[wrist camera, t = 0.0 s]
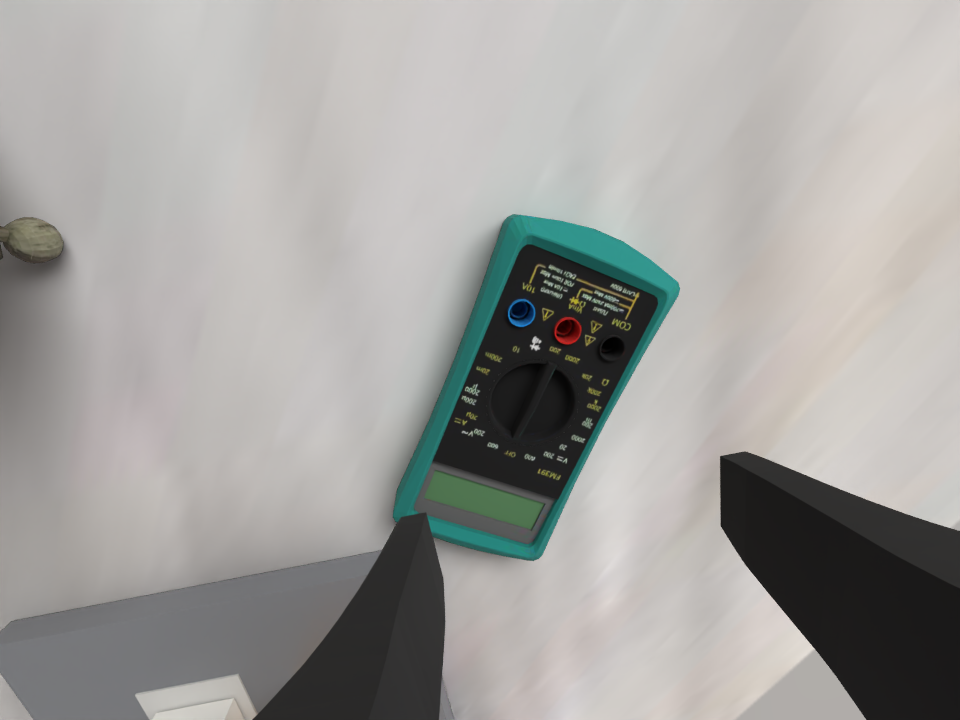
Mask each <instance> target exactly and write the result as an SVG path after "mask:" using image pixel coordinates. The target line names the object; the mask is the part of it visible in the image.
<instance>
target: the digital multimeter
mask: <svg viewBox="0 0 960 720" xmlns="http://www.w3.org/2000/svg"><path fill="white" fill-rule="evenodd" d="M517 255H518V256H517ZM515 260H516V261H515ZM512 267H513V268H512ZM510 272H511V273H510ZM508 277H509V278H508ZM505 284H506V285H505ZM503 289H504V290H503ZM679 291H680V287H679V284H678V282H677V281H676V280H675V279H673V278H672V277H671V276H670V275H668V274H667V273H666V272H665V271H664V270H662V269H661V268H660V267H659V266H657V265H656V264H655V263H654V262H652V261H651V260H650V259H649V258H647V257H646V256H644V255H643V254H641V253H640V252H638V251H637V250H635V249H634V248H632V247H631V246H629V245H628V244H626V243H624V242H623V241H621V240H618V239H616V238H614V237H611V236H609V235H607V234H604V233H602V232H600V231H598V230H595V229H592V228H588V227H584V226H580V225H576V224H572V223H567V222H563V221H558V220H551V219H544V218H538V217H531V216H523V215H516V214H513V215H511V216H509V217H507V218H506V220H505V221H504V223H503V225H502V228H501V231H500V234H499V237H498V240H497V243H496V246H495V248H494V251H493V254H492V257H491V260H490V263H489V266H488V269H487V272H486V275H485V278H484V281H483V283H482V286H481V289H480V292H479V294H478V297H477V300H476V303H475V305H474V308H473V311H472V313H471V316H470V319H469V322H468V324H467V327H466V330H465V332H464V335H463V338H462V341H461V343H460V346H459V349H458V351H457V354H456V357H455V359H454V362H453V364H452V366H451V369H450V371H449V374H448V376H447V378H446V381H445V383H444V386H443V388H442V390H441V393H440V395H439V398H438V400H437V402H436V405H435V407H434V410H433V412H432V414H431V417H430V419H429V422H428V424H427V426H426V428H425V430H424V433H423V435H422V437H421V439H420V441H419V443H418V446H417V448H416V450H415V452H414V454H413V457H412V459H411V461H410V463H409V465H408V467H407V470H406V472H405V474H404V476H403V478H402V481H401V483H400V485H399V487H398V489H397V494H396V500H395V505H394V511H393V518H394V520H395V521H396V522H398V521H399V520H400V518H401V517H404V516H409V515H414V514H419V513H425V512H426V513H427V517H428V521H429V525H430V529H431V533H432V536H433V537H436V538H438V539H441V540H444V541H447V542H450V543H453V544H457V545H460V546H464V547H467V548H471V549H474V550H478V551H483V552H487V553H492V554H497V555H501V556H506V557H512V558H517V559H523V560H530V561H534V560H537V559H539V558H540V557H541V556H542V554H543V552H544V550H545V548H546V546H547V543H548V541H549V539H550V537H551V535H552V533H553V530H554V528H555V526H556V524H557V522H558V519H559V517H560V515H561V513H562V511H563V508H564V506H565V504H566V502H567V500H568V497H569V495H570V493H571V491H572V489H573V486H574V484H575V482H576V480H577V478H578V476H579V474H580V472H581V470H582V468H583V466H584V464H585V462H586V460H587V458H588V456H589V454H590V452H591V450H592V448H593V446H594V444H595V442H596V440H597V438H598V436H599V434H600V432H601V430H602V428H603V427H604V425H605V423H606V421H607V419H608V417H609V415H610V413H611V412H612V410H613V408H614V406H615V404H616V403H617V401H618V399H619V397H620V396H621V394H622V392H623V390H624V388H625V387H626V385H627V383H628V381H629V379H630V378H631V376H632V374H633V372H634V371H635V369H636V367H637V365H638V363H639V362H640V360H641V358H642V356H643V354H644V353H645V351H646V349H647V348H648V346H649V344H650V343H651V341H652V339H653V337H654V336H655V334H656V332H657V331H658V329H659V327H660V326H661V324H662V322H663V321H664V319H665V317H666V315H667V314H668V312H669V310H670V309H671V307H672V305H673V304H674V302H675V300H676V299H677V297H678V295H679ZM500 296H501V297H500ZM498 301H499V302H498ZM496 306H497V307H496ZM495 308H496V309H495ZM493 313H494V314H493ZM491 318H492V319H491ZM486 330H487V331H486ZM484 335H485V336H484ZM479 347H480V348H479ZM533 359H537V360H533ZM545 360H546V361H545ZM552 362H553V363H552ZM560 366H561V367H560ZM506 368H507V369H506ZM493 381H494V382H493ZM576 385H577V386H576ZM493 428H494V429H493ZM443 434H444V435H443ZM557 437H558V438H557ZM507 440H508V441H507ZM547 442H548V443H547ZM514 443H515V444H514ZM540 444H541V445H540ZM523 445H525V446H523ZM534 445H535V446H534Z"/></svg>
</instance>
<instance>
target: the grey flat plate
mask: <svg viewBox="0 0 960 720" xmlns="http://www.w3.org/2000/svg"><path fill="white" fill-rule="evenodd" d="M381 551H382V550H381ZM381 551H376V552H371V553H366V554H360V555H355V556H350V557H345V558H340V559H334V560H329V561H324V562H319V563H313V564H308V565H303V566H298V567H293V568H287V569H282V570H277V571H272V572H266V573H261V574H256V575H251V576H246V577H240V578H235V579H230V580H225V581H219V582H214V583H209V584H204V585H199V586H193V587H188V588H183V589H178V590H172V591H167V592H162V593H157V594H152V595H146V596H141V597H136V598H131V599H126V600H120V601H115V602H110V603H105V604H99V605H94V606H89V607H84V608H79V609H73V610H68V611H63V612H58V613H52V614H47V615H42V616H37V617H32V618H26V619H21V620H16V621H11V622H10V623H9V624H8V625H7V626H6V627H5V628H4V629H3V630H2V631H1V632H0V673H1V675H2V676H3V678H4V679H5V680H6V682H7V683H8V684H9V686H10V687H11V689H12V690H13V691H14V693H15V694H16V696H17V697H18V698H19V700H20V701H21V703H22V704H23V705H24V707H25V708H26V709H27V711H28V712H29V714H30V715H31V716H32V718H33V719H34V720H152V719H153V717H154V716H155V714H156V713H159V712H164V711H169V710H174V709H180V708H185V707H190V706H195V705H200V704H206V703H211V702H216V701H221V700H226V699H231V698H234V699H235V701H236V703H237V705H238V707H239V709H240V711H241V713H242V715H243V717H244V719H245V720H252V719H253V718H254V717H255V716H256V715H257V714H258V713H259V712H260V711H261V710H262V709H263V708H264V707H265V706H266V705H267V704H268V703H269V702H270V700H271V699H272V698H273V697H274V696H275V695H276V694H277V693H278V692H279V691H280V690H281V688H282V687H283V686H284V685H285V684H286V683H287V682H288V681H289V680H290V679H291V677H292V676H293V675H294V674H295V673H296V672H297V671H298V670H299V669H300V668H301V666H302V665H303V664H304V663H305V662H306V660H307V659H308V658H309V657H310V655H311V654H312V653H313V652H314V650H315V649H316V648H317V647H318V645H319V644H320V643H321V642H322V640H323V639H324V638H325V636H326V635H327V634H328V632H329V631H330V630H331V628H332V627H333V626H334V624H335V623H336V621H337V620H338V619H339V617H340V616H341V614H342V613H343V611H344V610H345V608H346V607H347V605H348V604H349V603H350V601H351V600H352V598H353V597H354V595H355V594H356V592H357V591H358V589H359V588H360V586H361V584H362V583H363V581H364V580H365V578H366V576H367V575H368V573H369V571H370V570H371V568H372V567H373V565H374V563H375V562H376V560H377V558H378V556H379V555H380V553H381ZM439 720H454V717H453V713H452V710H451V706H450V703H449V699H448V696H447V692H446V689H445V685H444V682H443V678H442V682H441V698H440V713H439Z"/></svg>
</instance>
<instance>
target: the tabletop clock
mask: <svg viewBox="0 0 960 720" xmlns="http://www.w3.org/2000/svg"><path fill="white" fill-rule="evenodd" d="M0 242H3V244H4V247H5V248H6V249H7V250H8V251H9V252H10V254H11V255H13V256H15V257H17V258H19V259H21V260H23V261H25V262H30V263H43V262H46V261H49V260H51V259H54V258H56V257H57V256H59V255H60V254H61V252H62V249H63V240H62V237H61V234H60V233H59V232H58V231H57V229H56V228H55V227H54V226H52V225H50V224H48V223H47V222H45V221H43V220H40V219H37V218H33V217H24V218H20V219H16V220H14V221H12V222H10V223H9V224H7V225H6V226H5V227H2V226H0ZM2 258H3V255H2V250H1V245H0V260H1V259H2Z"/></svg>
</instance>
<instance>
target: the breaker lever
mask: <svg viewBox="0 0 960 720" xmlns="http://www.w3.org/2000/svg"><path fill="white" fill-rule="evenodd" d="M152 720H245V719H244V717H243V715H242V713H241V711H240V709H239V707H238V705H237V703H236V701H235V699H234V698H231V699H226V700H221V701H216V702H211V703H206V704H200V705H195V706H190V707H185V708H180V709H174V710H169V711H164V712H159V713H156V714H155V716H154V717H153V719H152Z"/></svg>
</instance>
